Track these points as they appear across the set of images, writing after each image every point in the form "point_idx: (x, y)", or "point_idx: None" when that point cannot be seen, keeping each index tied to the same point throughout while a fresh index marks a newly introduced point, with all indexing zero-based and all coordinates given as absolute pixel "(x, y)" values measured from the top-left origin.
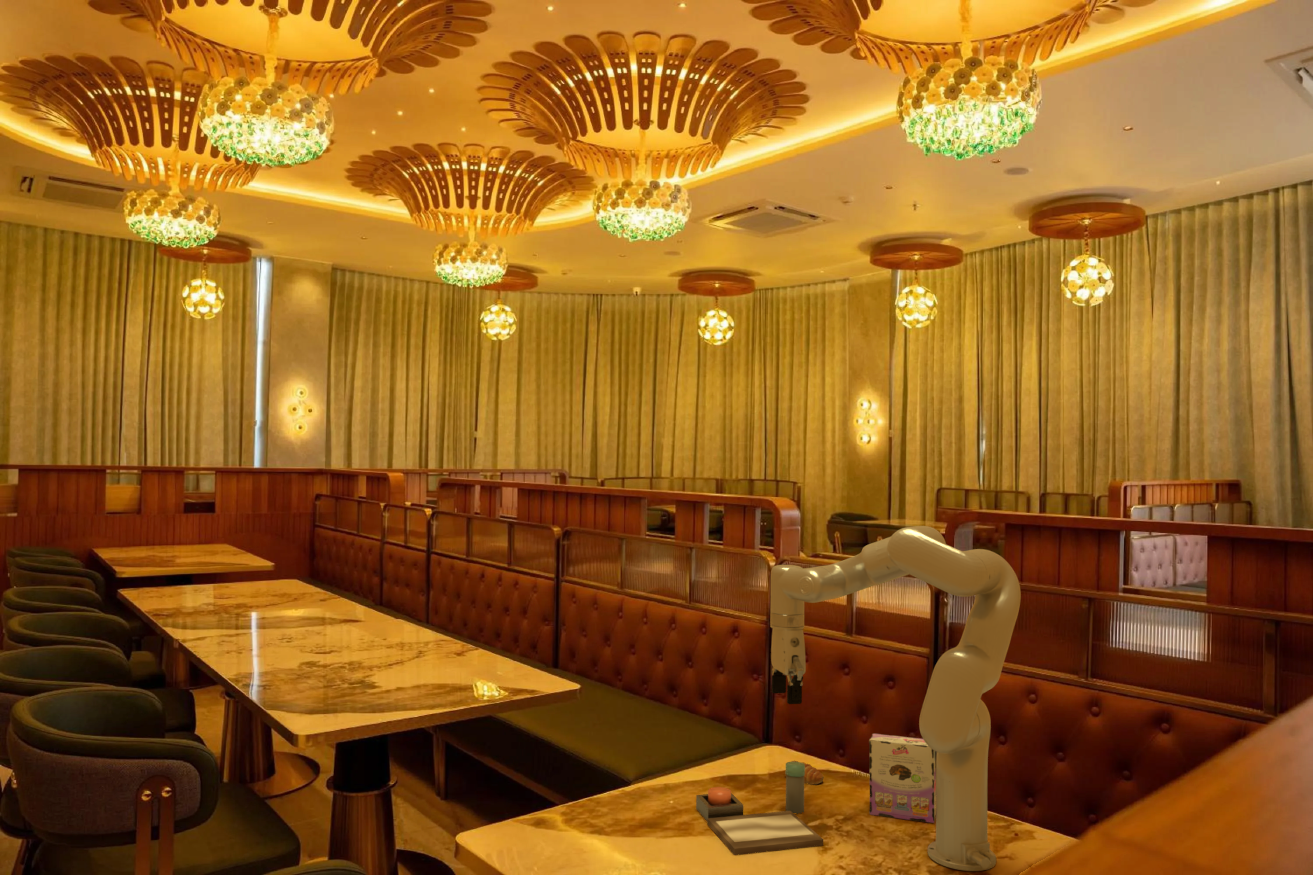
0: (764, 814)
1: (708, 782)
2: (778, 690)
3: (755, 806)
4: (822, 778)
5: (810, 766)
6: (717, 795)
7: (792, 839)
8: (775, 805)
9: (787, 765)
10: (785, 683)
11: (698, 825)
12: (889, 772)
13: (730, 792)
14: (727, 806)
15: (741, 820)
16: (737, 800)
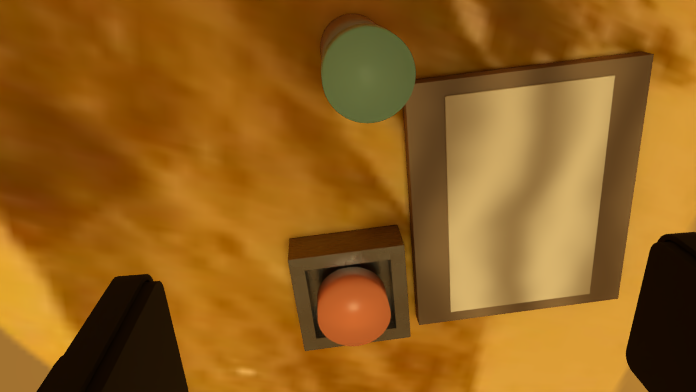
0: (421, 175)
1: (74, 262)
2: (171, 372)
3: (302, 168)
4: None
5: None
6: (386, 325)
7: (619, 147)
8: (299, 101)
9: (376, 118)
10: (121, 361)
11: (419, 334)
12: None
13: (373, 290)
14: (406, 287)
15: (459, 250)
16: (366, 254)
